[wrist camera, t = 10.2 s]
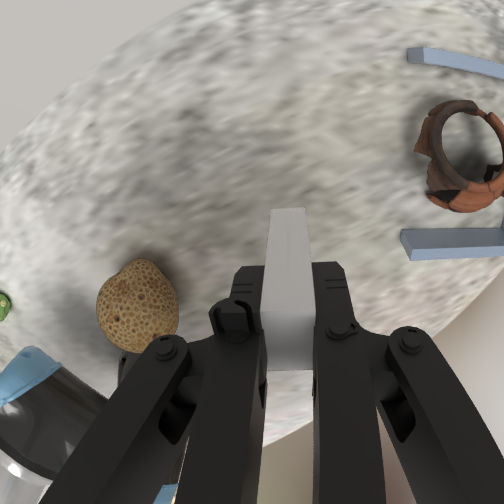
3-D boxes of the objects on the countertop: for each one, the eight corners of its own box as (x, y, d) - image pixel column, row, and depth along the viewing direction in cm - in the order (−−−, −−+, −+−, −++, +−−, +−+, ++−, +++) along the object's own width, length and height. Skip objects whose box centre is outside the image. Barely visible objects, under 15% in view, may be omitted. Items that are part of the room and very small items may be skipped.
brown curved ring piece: (396, 199, 26) (413, 188, 19) (410, 108, 25) (426, 71, 17) (500, 233, 23) (542, 236, 15) (510, 145, 22) (549, 124, 14)
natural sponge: (146, 312, 38) (117, 373, 30) (106, 258, 34) (63, 316, 26) (205, 298, 35) (181, 368, 27) (164, 235, 31) (123, 300, 23)
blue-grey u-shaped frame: (505, 237, 26) (520, 254, 23) (400, 240, 28) (410, 260, 25) (527, 76, 16) (549, 81, 13) (406, 48, 18) (423, 46, 15)
